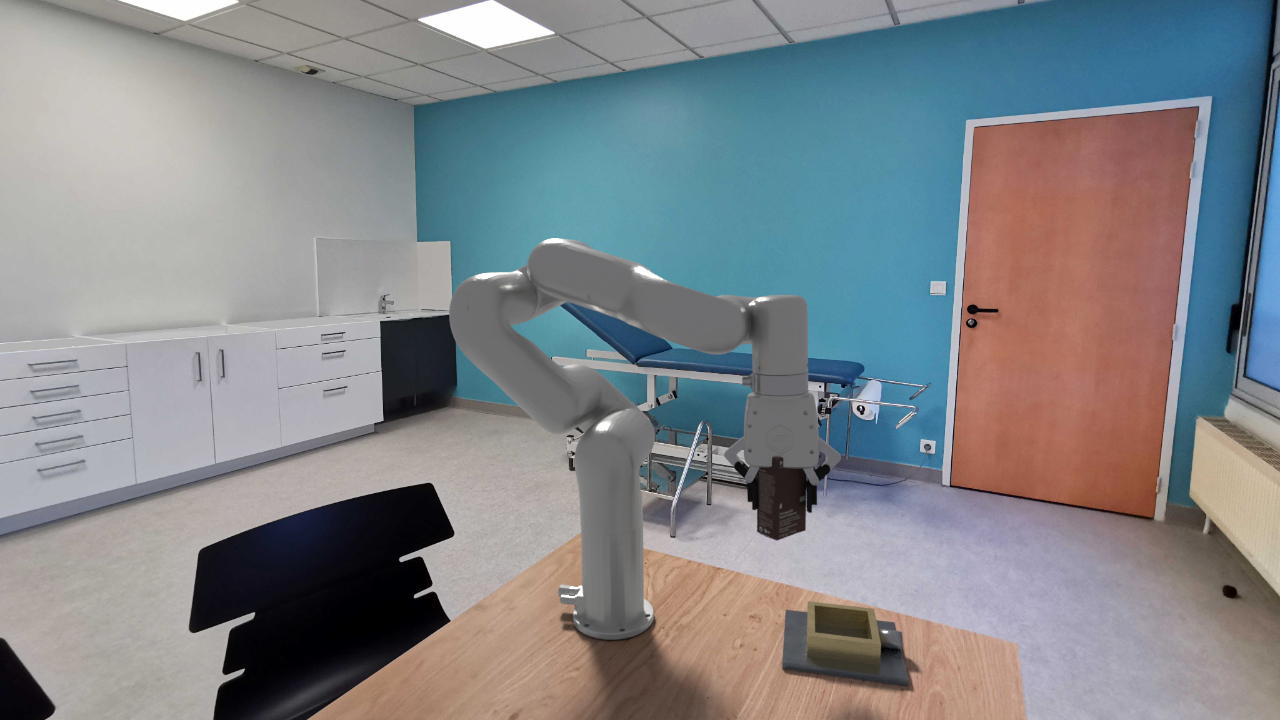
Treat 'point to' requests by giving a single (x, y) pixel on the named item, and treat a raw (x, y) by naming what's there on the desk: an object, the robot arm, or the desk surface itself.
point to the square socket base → (843, 644)
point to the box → (781, 500)
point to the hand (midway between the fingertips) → (782, 507)
